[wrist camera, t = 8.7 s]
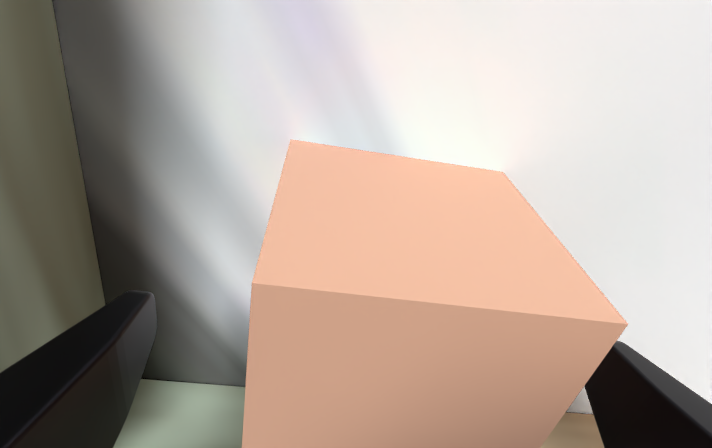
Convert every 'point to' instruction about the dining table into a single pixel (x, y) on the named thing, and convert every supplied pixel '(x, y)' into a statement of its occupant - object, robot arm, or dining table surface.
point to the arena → (93, 247)
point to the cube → (413, 310)
